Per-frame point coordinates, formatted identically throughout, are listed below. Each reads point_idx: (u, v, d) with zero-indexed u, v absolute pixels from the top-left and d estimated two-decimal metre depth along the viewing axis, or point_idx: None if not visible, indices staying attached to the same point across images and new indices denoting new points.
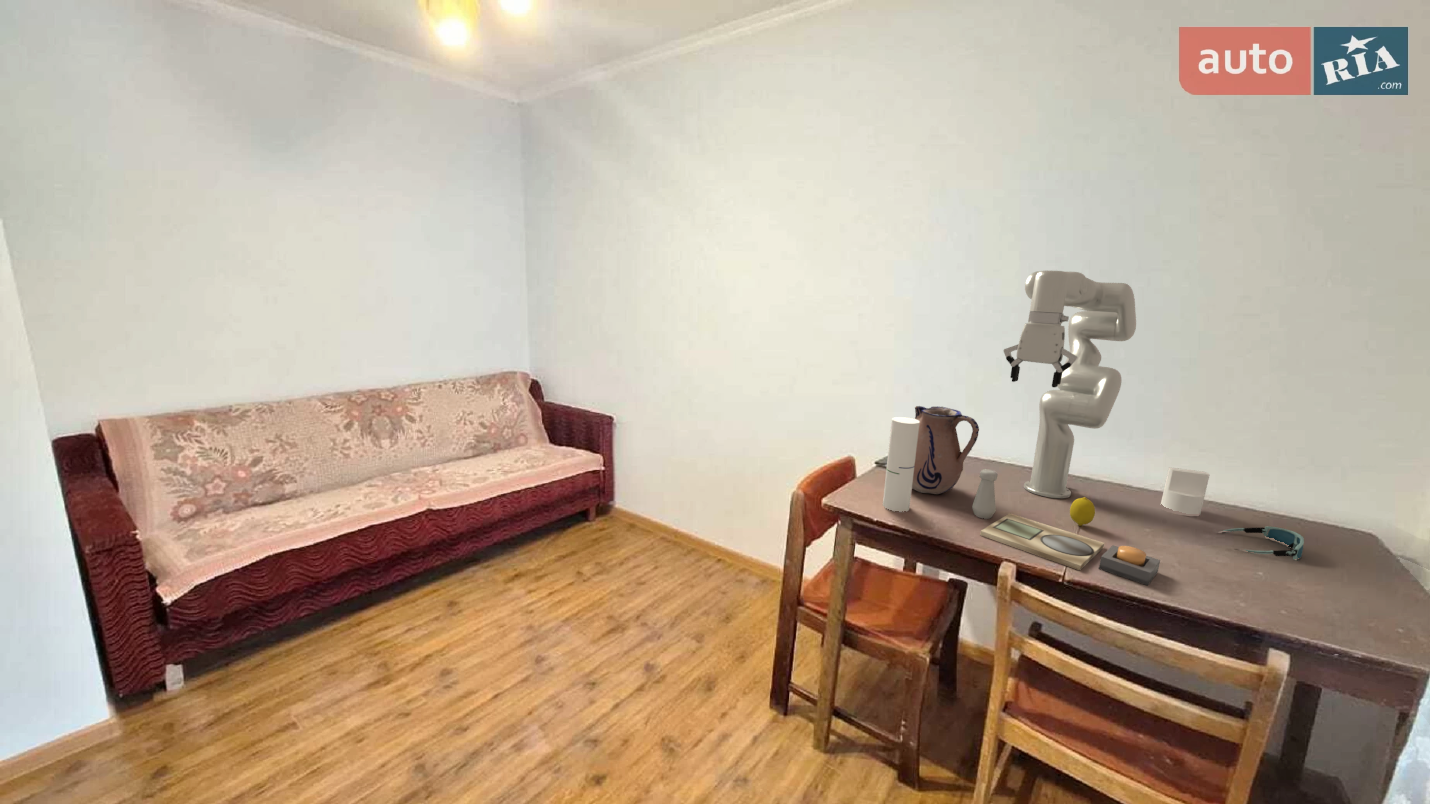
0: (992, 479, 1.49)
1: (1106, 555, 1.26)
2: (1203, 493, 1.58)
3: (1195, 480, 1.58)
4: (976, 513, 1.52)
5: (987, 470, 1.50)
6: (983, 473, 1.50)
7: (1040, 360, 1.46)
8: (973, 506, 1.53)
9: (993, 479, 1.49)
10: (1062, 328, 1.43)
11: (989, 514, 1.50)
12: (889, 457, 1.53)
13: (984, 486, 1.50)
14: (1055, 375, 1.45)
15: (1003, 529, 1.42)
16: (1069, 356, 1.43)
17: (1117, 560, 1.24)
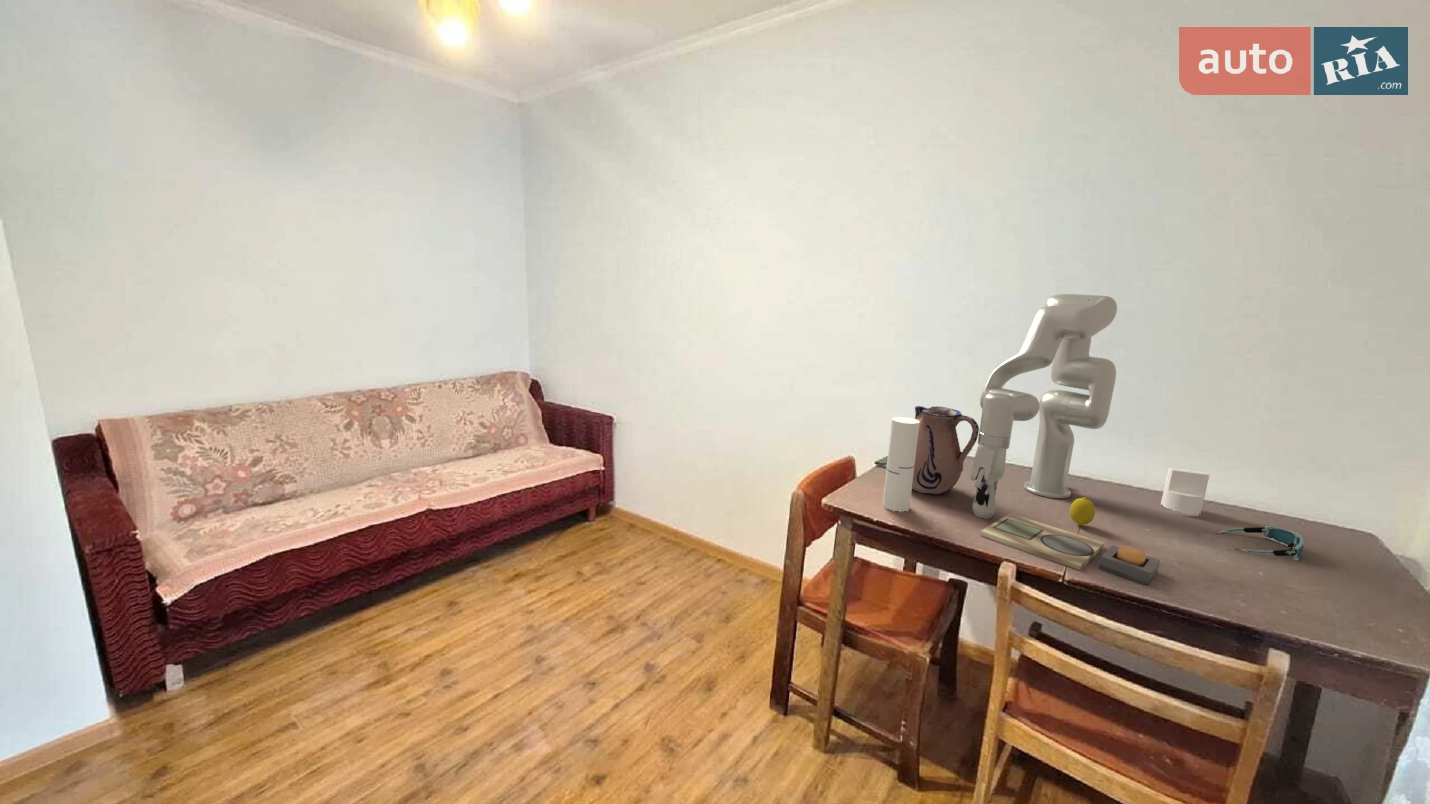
0: None
1: (1106, 555, 1.26)
2: (1203, 493, 1.58)
3: (1195, 480, 1.58)
4: (976, 513, 1.52)
5: None
6: None
7: (997, 479, 1.50)
8: (973, 506, 1.53)
9: None
10: None
11: (989, 514, 1.50)
12: (889, 457, 1.53)
13: None
14: None
15: (1003, 529, 1.42)
16: None
17: (1117, 560, 1.24)
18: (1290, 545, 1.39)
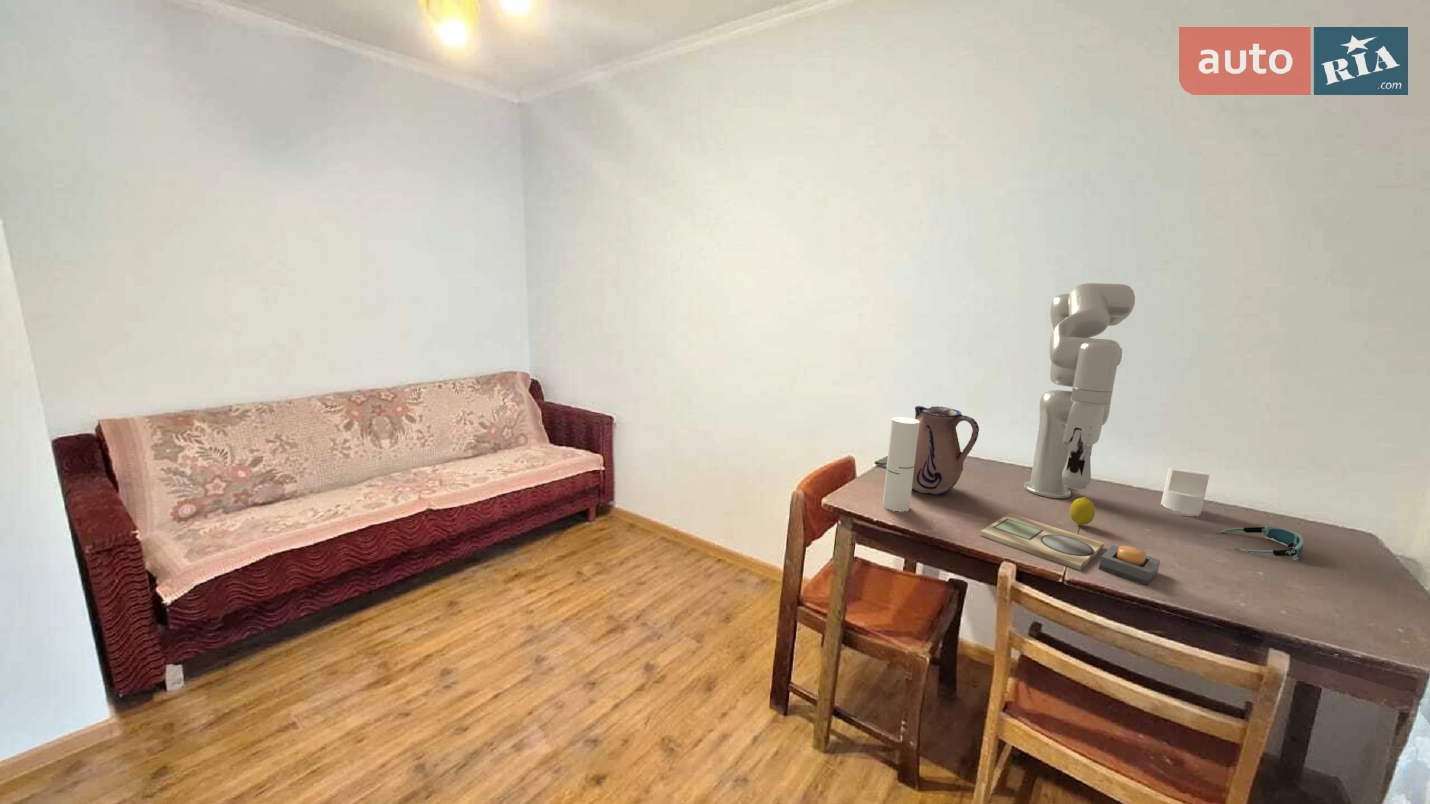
0: None
1: (1106, 555, 1.26)
2: (1203, 493, 1.58)
3: (1195, 480, 1.58)
4: (1067, 482, 1.31)
5: None
6: None
7: (1094, 442, 1.29)
8: (1063, 474, 1.32)
9: None
10: None
11: (1084, 483, 1.29)
12: (889, 457, 1.53)
13: None
14: None
15: (1003, 529, 1.42)
16: None
17: (1117, 560, 1.24)
18: (1290, 545, 1.39)
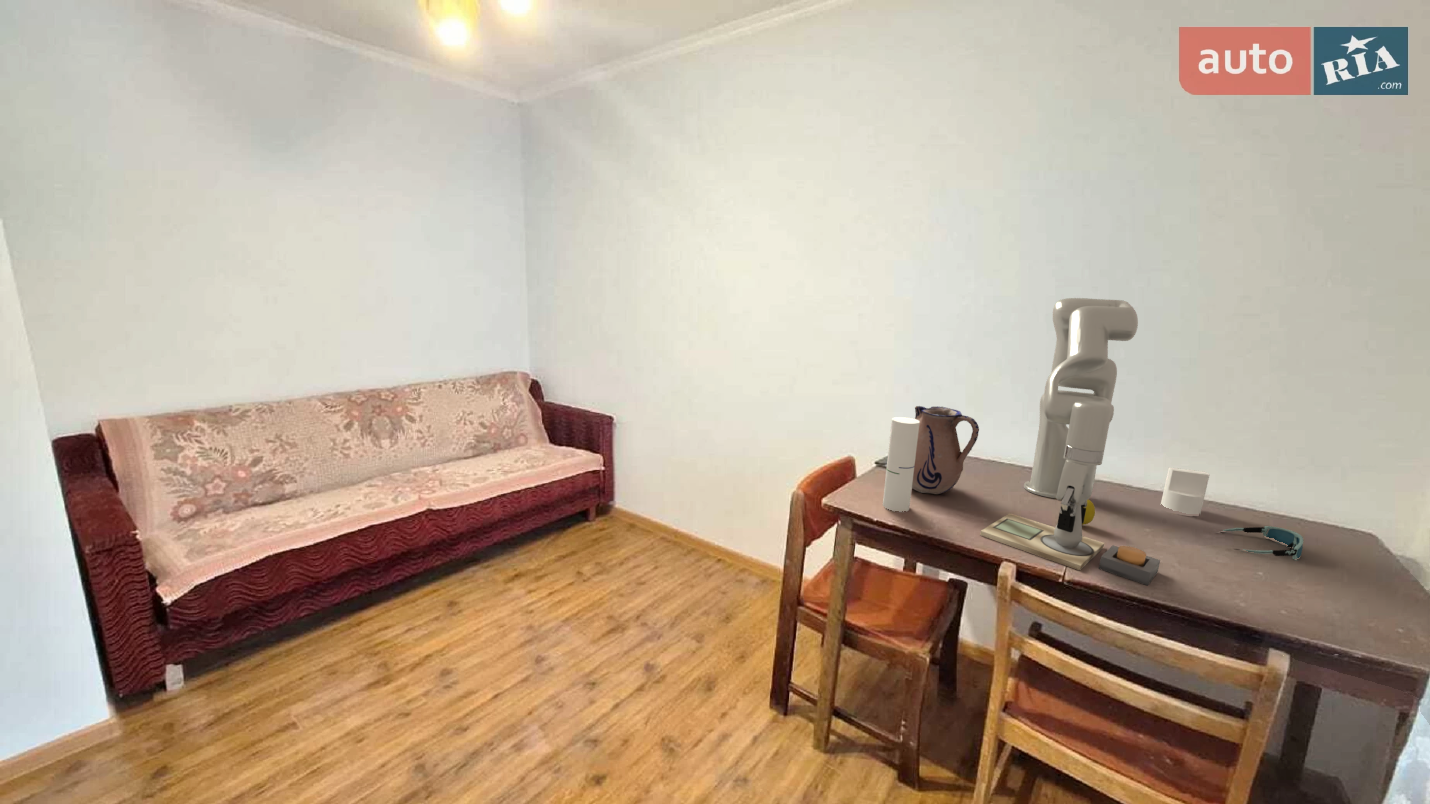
0: None
1: (1106, 555, 1.26)
2: (1203, 493, 1.58)
3: (1195, 480, 1.58)
4: (1059, 541, 1.34)
5: None
6: None
7: (1086, 498, 1.31)
8: (1056, 533, 1.34)
9: None
10: None
11: (1075, 543, 1.32)
12: (889, 457, 1.53)
13: None
14: (1085, 511, 1.34)
15: (1003, 529, 1.42)
16: None
17: (1117, 560, 1.24)
18: (1290, 545, 1.39)
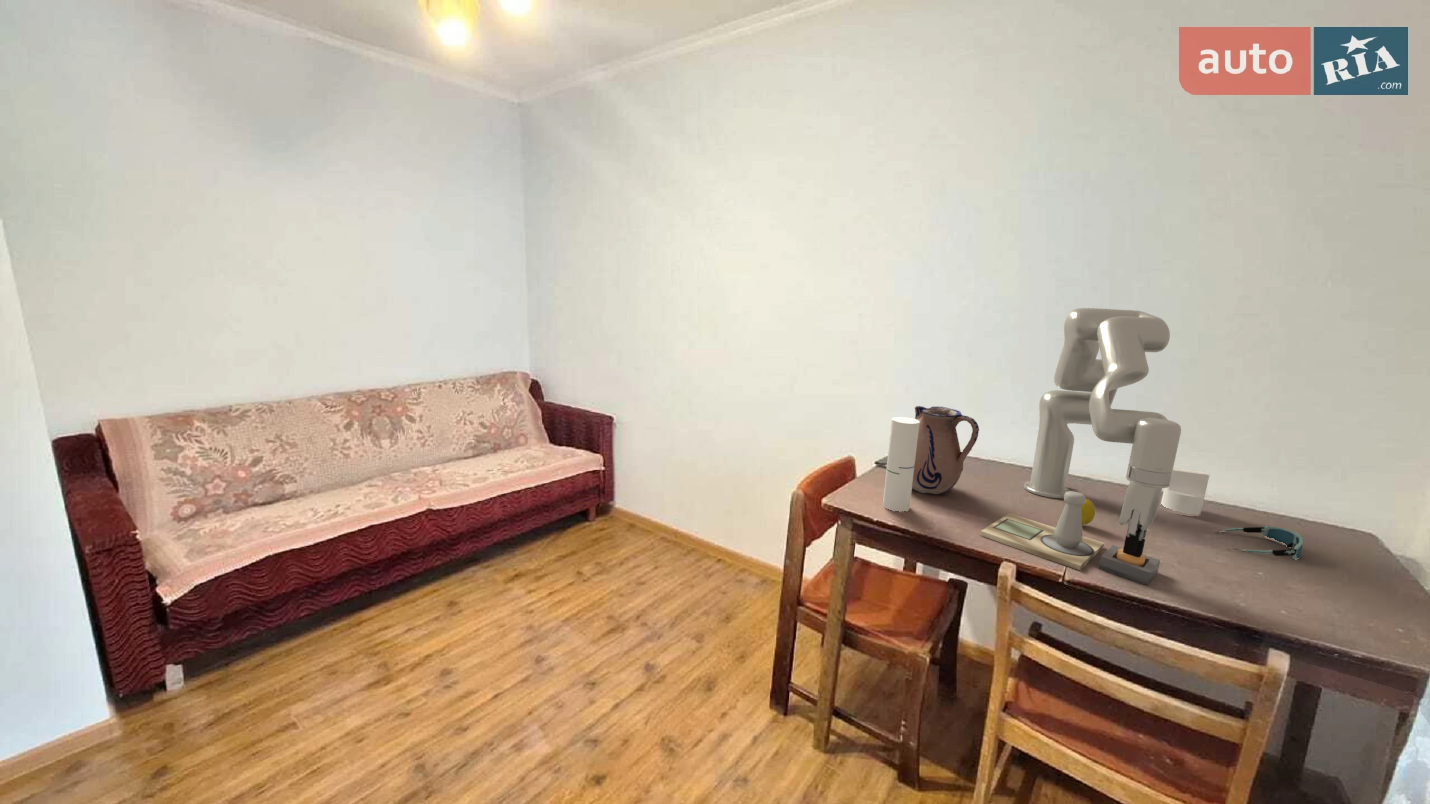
0: (1080, 503, 1.30)
1: (1106, 555, 1.26)
2: (1203, 493, 1.58)
3: (1195, 480, 1.58)
4: (1059, 541, 1.34)
5: (1073, 493, 1.32)
6: (1069, 496, 1.31)
7: (1151, 523, 1.22)
8: (1056, 533, 1.34)
9: (1081, 503, 1.30)
10: None
11: (1075, 543, 1.32)
12: (889, 457, 1.53)
13: (1070, 511, 1.32)
14: None
15: (1003, 529, 1.42)
16: None
17: (1117, 560, 1.24)
18: (1289, 545, 1.39)
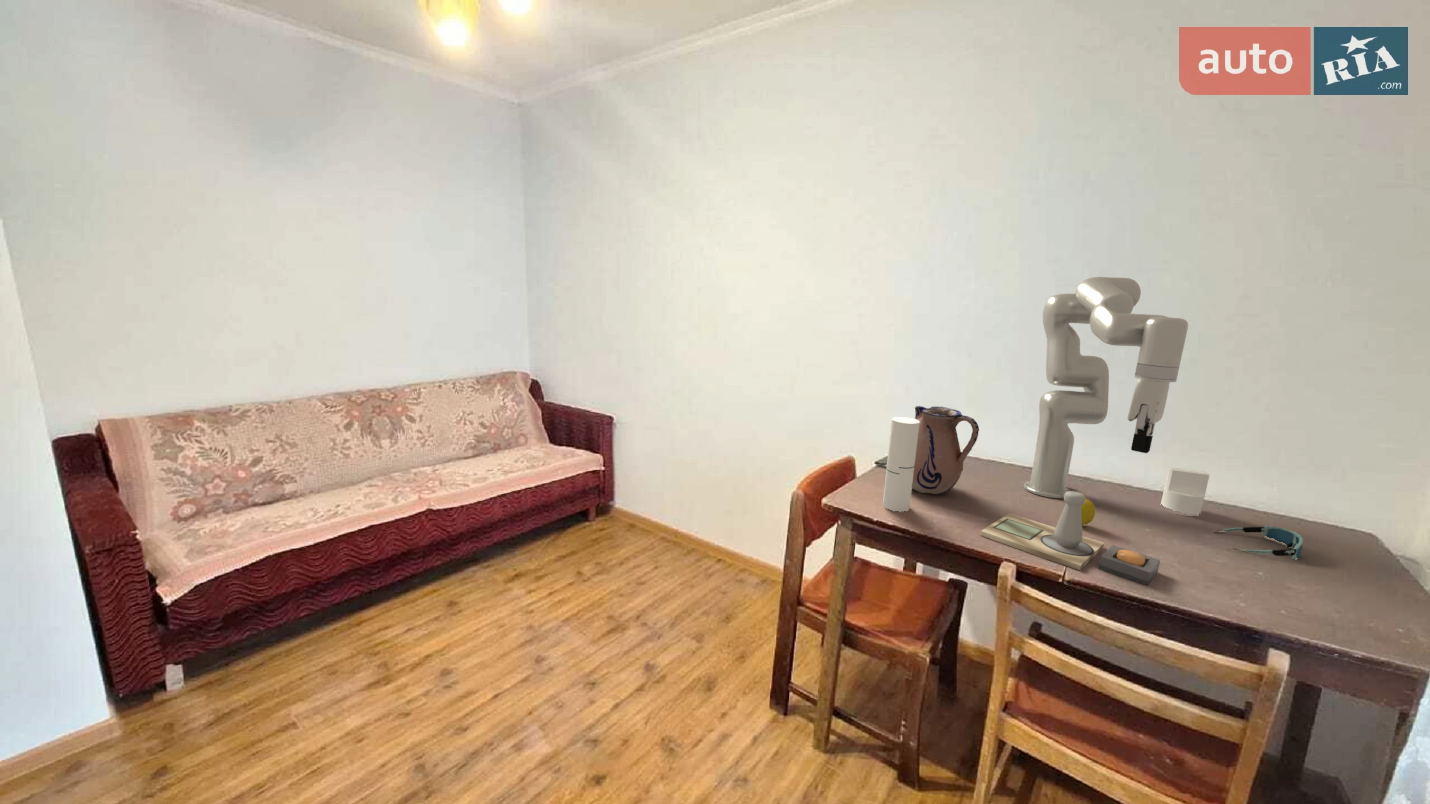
0: (1080, 503, 1.30)
1: (1106, 555, 1.26)
2: (1203, 493, 1.58)
3: (1195, 480, 1.58)
4: (1059, 541, 1.34)
5: (1073, 493, 1.32)
6: (1069, 496, 1.31)
7: (1159, 419, 1.27)
8: (1056, 533, 1.34)
9: (1081, 503, 1.30)
10: None
11: (1075, 543, 1.32)
12: (889, 457, 1.53)
13: (1070, 511, 1.32)
14: (1151, 439, 1.28)
15: (1003, 529, 1.42)
16: None
17: (1117, 560, 1.24)
18: (1289, 545, 1.39)
